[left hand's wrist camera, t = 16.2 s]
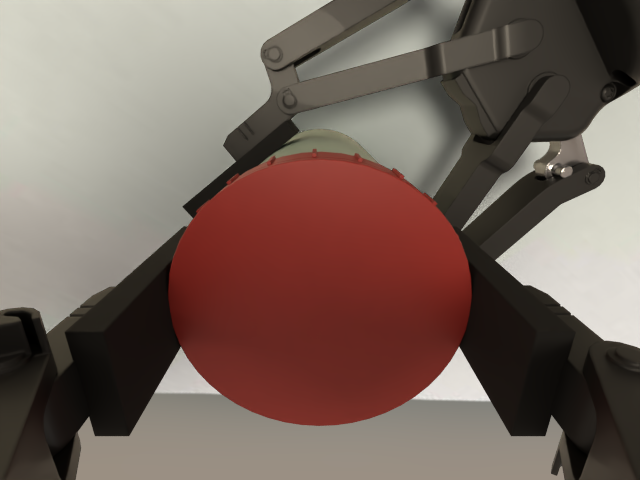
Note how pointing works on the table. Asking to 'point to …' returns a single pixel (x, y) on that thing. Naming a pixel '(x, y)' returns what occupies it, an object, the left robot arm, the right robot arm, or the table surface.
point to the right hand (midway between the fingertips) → (252, 265)
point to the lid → (319, 289)
